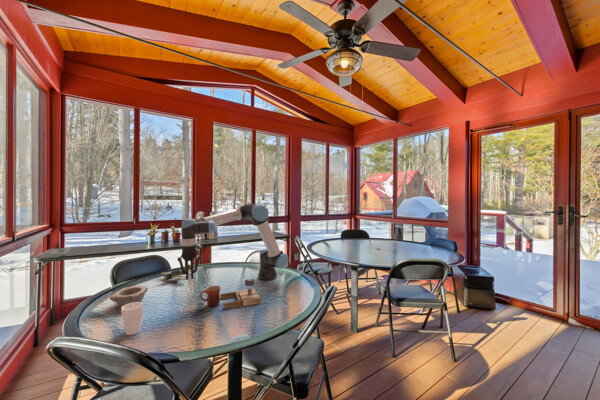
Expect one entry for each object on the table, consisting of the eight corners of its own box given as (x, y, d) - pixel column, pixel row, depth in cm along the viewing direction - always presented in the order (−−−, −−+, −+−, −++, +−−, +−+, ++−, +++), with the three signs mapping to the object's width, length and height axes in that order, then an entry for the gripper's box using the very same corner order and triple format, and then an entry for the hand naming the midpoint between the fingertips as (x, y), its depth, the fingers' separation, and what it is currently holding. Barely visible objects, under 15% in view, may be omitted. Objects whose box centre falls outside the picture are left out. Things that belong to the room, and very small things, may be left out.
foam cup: (134, 325, 140) (133, 301, 139) (148, 328, 137) (147, 303, 137) (117, 335, 131) (116, 308, 130) (131, 337, 128) (131, 311, 128)
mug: (219, 300, 171) (219, 284, 170) (222, 305, 163) (221, 289, 162) (199, 304, 165) (199, 288, 165) (201, 310, 157) (201, 292, 157)
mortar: (107, 312, 156) (106, 296, 156) (124, 300, 173) (124, 286, 173) (136, 311, 157) (136, 295, 157) (151, 299, 174) (150, 285, 174)
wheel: (244, 283, 174) (244, 278, 174) (253, 282, 177) (253, 277, 176) (245, 286, 169) (245, 281, 169) (255, 285, 171) (255, 280, 171)
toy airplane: (204, 278, 216) (204, 266, 215) (175, 288, 195) (175, 274, 194) (181, 272, 232) (181, 261, 232) (152, 280, 211) (152, 268, 211)
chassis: (220, 298, 175) (220, 288, 174) (254, 292, 183) (254, 283, 183) (223, 309, 158) (223, 298, 158) (260, 302, 166) (260, 292, 166)
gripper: (176, 247, 152) (177, 288, 153) (201, 245, 157) (201, 285, 158) (177, 245, 159) (178, 284, 160) (200, 243, 164) (201, 281, 165)
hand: (189, 284), depth 159 cm, fingers closed
